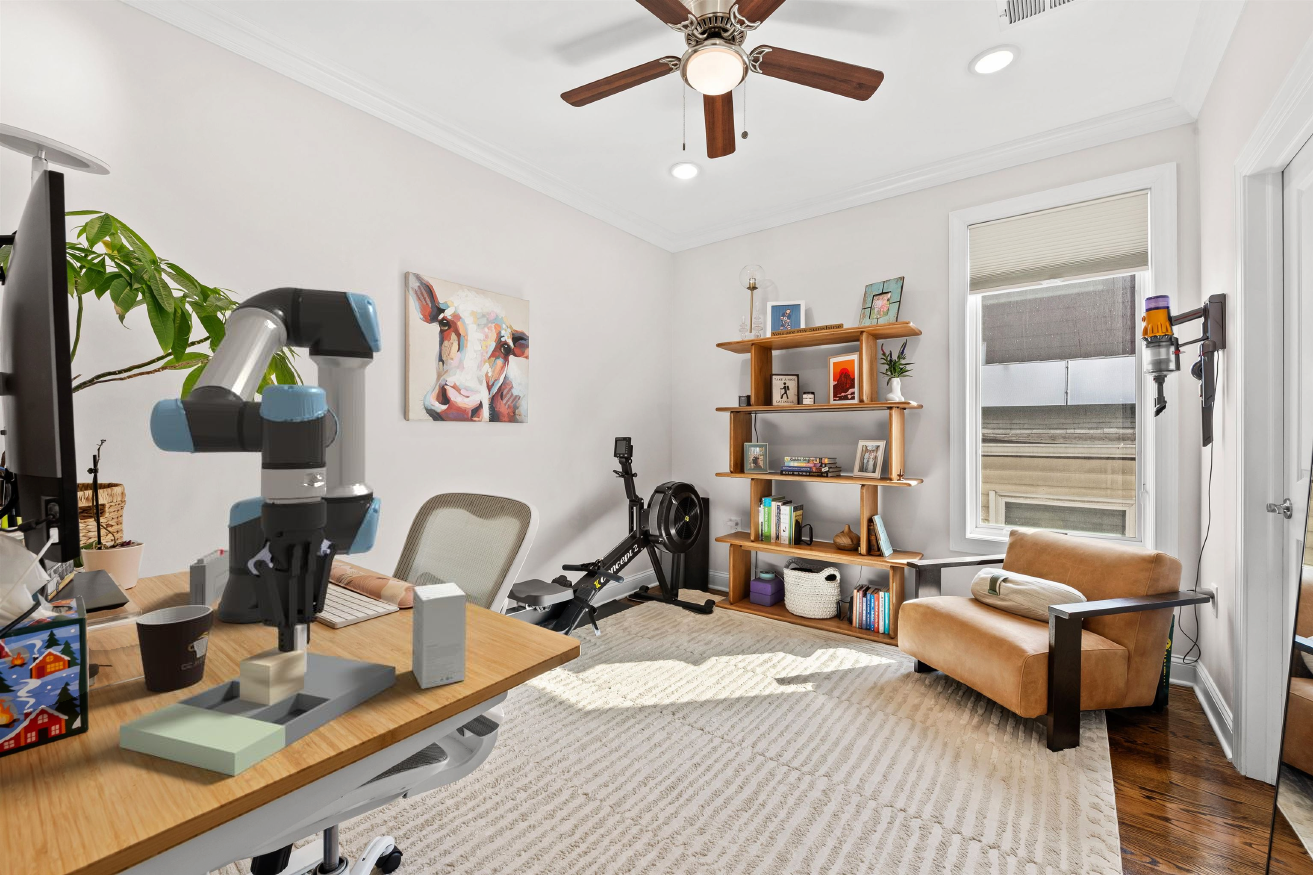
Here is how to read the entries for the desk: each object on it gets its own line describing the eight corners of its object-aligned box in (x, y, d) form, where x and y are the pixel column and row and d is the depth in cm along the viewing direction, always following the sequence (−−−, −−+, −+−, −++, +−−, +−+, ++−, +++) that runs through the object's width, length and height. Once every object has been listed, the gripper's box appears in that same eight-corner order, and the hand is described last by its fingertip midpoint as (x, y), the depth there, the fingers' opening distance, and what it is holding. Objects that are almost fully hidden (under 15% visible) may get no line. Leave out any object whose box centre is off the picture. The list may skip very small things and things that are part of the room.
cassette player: (221, 589, 133) (221, 545, 132) (235, 588, 133) (235, 544, 133) (189, 610, 118) (189, 560, 117) (205, 609, 118) (205, 560, 118)
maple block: (275, 683, 80) (275, 646, 79) (304, 688, 78) (304, 651, 78) (239, 699, 75) (239, 660, 75) (269, 705, 73) (270, 665, 73)
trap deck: (300, 666, 91) (300, 651, 91) (395, 683, 86) (395, 666, 86) (119, 746, 68) (119, 725, 68) (234, 776, 63) (234, 753, 63)
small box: (466, 680, 87) (467, 593, 87) (421, 690, 84) (421, 600, 84) (453, 661, 94) (454, 581, 94) (411, 669, 91) (412, 586, 90)
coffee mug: (160, 700, 79) (160, 627, 79) (121, 689, 82) (121, 619, 82) (246, 668, 90) (246, 603, 90) (208, 659, 93) (209, 597, 93)
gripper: (271, 506, 72) (272, 697, 72) (354, 495, 84) (353, 657, 85) (226, 503, 74) (226, 688, 74) (313, 493, 86) (313, 651, 87)
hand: (294, 672), depth 79 cm, fingers closed
